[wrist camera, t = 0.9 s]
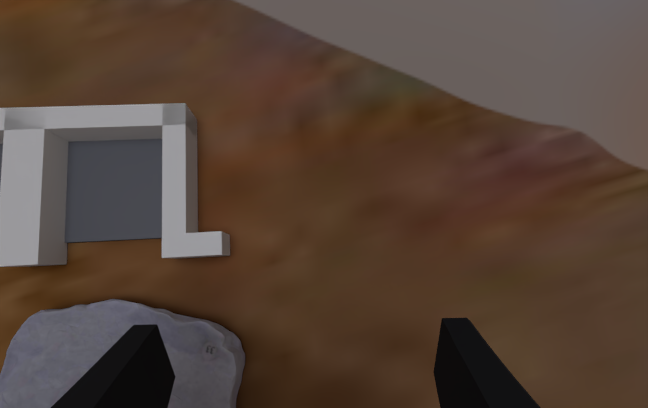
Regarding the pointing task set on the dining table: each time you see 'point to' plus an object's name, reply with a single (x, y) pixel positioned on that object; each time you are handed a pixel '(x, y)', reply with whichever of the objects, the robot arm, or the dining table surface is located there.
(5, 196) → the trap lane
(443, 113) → the dining table surface
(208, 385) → the stone block
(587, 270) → the dining table surface
